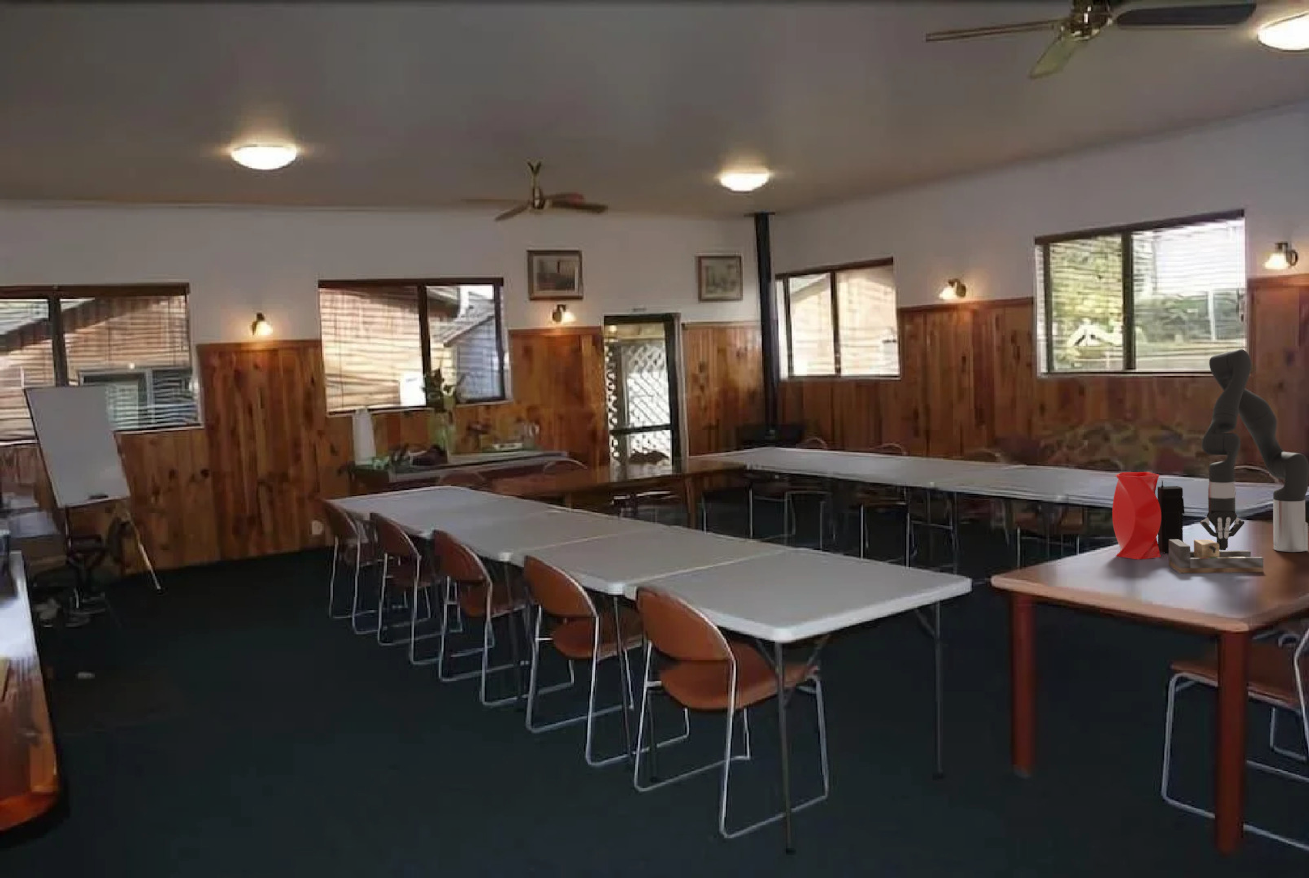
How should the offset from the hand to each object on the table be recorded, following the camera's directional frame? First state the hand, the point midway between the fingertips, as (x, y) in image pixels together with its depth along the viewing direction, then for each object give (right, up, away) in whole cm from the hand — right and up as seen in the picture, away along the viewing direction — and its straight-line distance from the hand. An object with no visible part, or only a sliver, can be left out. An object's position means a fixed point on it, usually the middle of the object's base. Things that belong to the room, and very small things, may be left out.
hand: (1222, 549), depth 331 cm
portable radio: (-1, -4, +29) cm, 30 cm away
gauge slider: (-5, -5, 0) cm, 6 cm away
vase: (-15, -5, +27) cm, 31 cm away
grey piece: (-2, -6, +1) cm, 6 cm away
